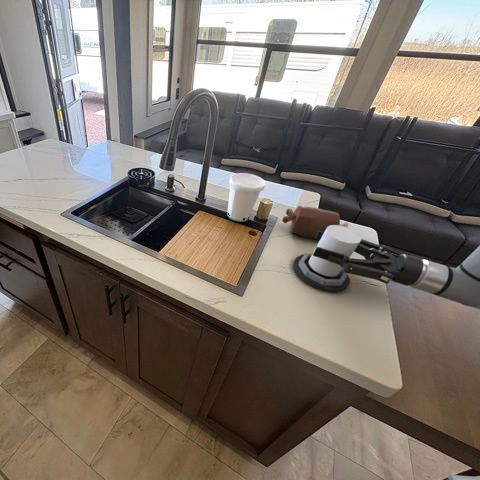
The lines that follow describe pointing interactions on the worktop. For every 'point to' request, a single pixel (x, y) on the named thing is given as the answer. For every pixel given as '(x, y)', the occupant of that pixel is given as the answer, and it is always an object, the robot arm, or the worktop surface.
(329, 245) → the white cylinder
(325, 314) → the worktop surface
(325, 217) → the meat
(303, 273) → the coaster
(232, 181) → the cup
